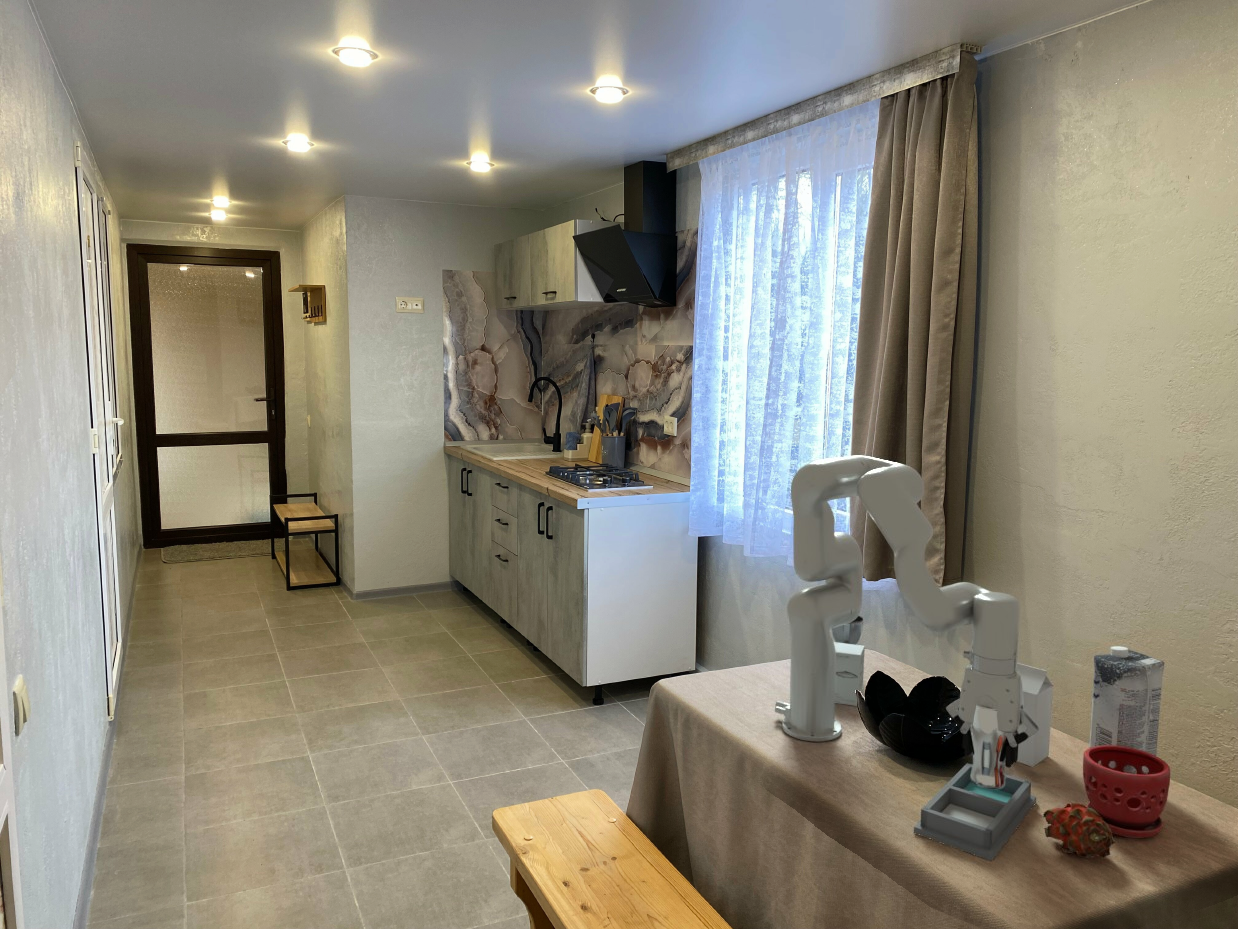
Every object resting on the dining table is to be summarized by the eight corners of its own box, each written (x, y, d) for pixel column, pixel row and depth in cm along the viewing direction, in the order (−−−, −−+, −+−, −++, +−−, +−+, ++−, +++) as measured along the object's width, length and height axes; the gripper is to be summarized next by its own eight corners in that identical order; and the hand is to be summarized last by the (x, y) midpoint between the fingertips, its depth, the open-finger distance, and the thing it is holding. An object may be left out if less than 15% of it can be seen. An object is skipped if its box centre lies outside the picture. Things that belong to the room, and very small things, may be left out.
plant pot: (1180, 829, 154) (1186, 763, 153) (1139, 853, 148) (1144, 784, 146) (1105, 797, 165) (1110, 735, 164) (1064, 818, 158) (1068, 753, 157)
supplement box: (826, 703, 209) (828, 650, 208) (832, 691, 216) (833, 640, 214) (859, 707, 207) (861, 654, 205) (863, 696, 213) (865, 644, 212)
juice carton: (1161, 795, 166) (1172, 654, 162) (1120, 806, 162) (1131, 662, 158) (1118, 774, 174) (1127, 639, 171) (1078, 784, 170) (1087, 647, 167)
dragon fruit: (1110, 882, 142) (1045, 855, 153) (1136, 840, 145) (1070, 816, 156) (1085, 847, 140) (1021, 821, 151) (1112, 804, 143) (1047, 783, 154)
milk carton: (1033, 767, 177) (1038, 675, 174) (997, 755, 182) (1002, 665, 180) (1048, 756, 182) (1054, 666, 179) (1014, 745, 187) (1019, 657, 184)
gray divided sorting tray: (913, 833, 154) (914, 810, 153) (964, 781, 172) (965, 760, 171) (991, 861, 146) (992, 837, 145) (1036, 803, 164) (1037, 781, 163)
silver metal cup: (1012, 792, 158) (1017, 711, 156) (971, 789, 159) (974, 708, 157) (1004, 774, 165) (1008, 695, 163) (964, 771, 166) (967, 693, 164)
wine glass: (830, 680, 223) (831, 622, 221) (828, 668, 231) (829, 612, 229) (863, 682, 222) (864, 623, 220) (860, 670, 230) (861, 613, 228)
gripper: (937, 658, 162) (933, 752, 164) (1039, 680, 151) (1034, 781, 153) (952, 647, 167) (948, 738, 170) (1052, 668, 156) (1046, 765, 159)
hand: (989, 758), depth 161 cm, fingers closed on silver metal cup, 6 cm apart
